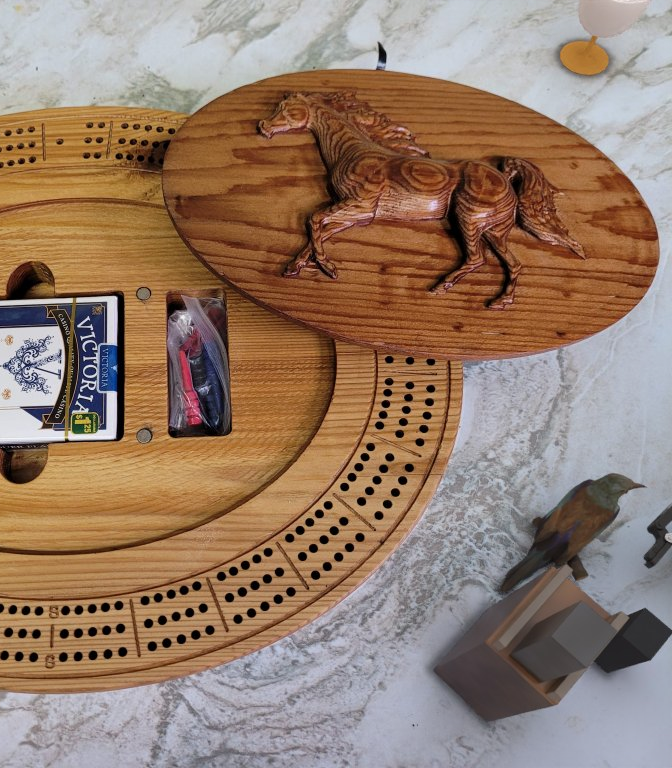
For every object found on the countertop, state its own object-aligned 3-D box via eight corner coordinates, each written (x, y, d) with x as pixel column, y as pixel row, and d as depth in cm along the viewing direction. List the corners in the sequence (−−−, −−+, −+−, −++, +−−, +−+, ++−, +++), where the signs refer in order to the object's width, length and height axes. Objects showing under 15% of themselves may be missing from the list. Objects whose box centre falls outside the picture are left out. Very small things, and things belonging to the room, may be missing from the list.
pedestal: (542, 657, 111) (619, 627, 91) (486, 722, 108) (553, 706, 87) (488, 608, 114) (550, 567, 94) (432, 669, 111) (484, 642, 91)
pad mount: (619, 627, 91) (680, 602, 79) (553, 706, 87) (606, 693, 76) (550, 567, 94) (599, 536, 82) (484, 642, 91) (525, 620, 79)
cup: (546, 71, 158) (583, -6, 143) (558, 31, 163) (595, -48, 147) (610, 86, 156) (654, 10, 140) (620, 45, 160) (664, -34, 145)
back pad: (629, 646, 111) (674, 631, 100) (607, 673, 110) (650, 660, 99) (603, 624, 113) (645, 607, 102) (581, 650, 111) (621, 635, 101)
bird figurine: (532, 625, 112) (638, 543, 100) (476, 569, 116) (572, 482, 104) (568, 585, 121) (671, 505, 108) (516, 534, 125) (609, 451, 112)
